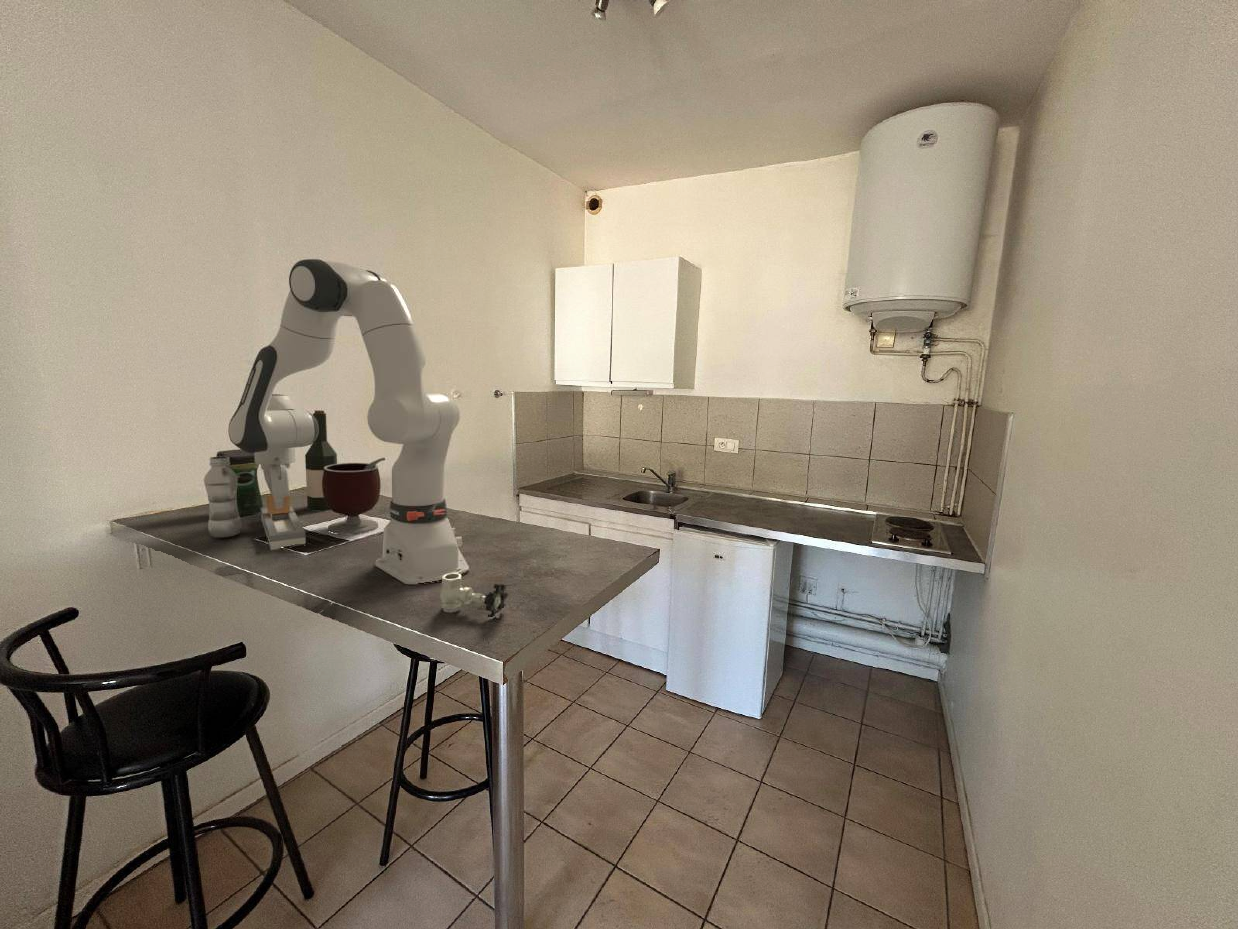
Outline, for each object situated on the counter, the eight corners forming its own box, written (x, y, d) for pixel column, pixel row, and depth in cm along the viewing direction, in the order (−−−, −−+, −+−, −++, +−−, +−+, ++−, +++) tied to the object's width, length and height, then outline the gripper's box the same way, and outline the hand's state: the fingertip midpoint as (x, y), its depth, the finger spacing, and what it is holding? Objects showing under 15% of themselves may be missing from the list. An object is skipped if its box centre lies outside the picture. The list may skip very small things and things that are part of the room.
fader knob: (290, 518, 133) (289, 494, 131) (268, 520, 130) (267, 496, 128) (289, 515, 135) (288, 492, 134) (267, 518, 132) (266, 494, 131)
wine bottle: (336, 503, 158) (332, 409, 153) (341, 509, 151) (337, 412, 146) (305, 505, 152) (300, 409, 147) (309, 512, 146) (305, 411, 141)
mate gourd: (314, 535, 127) (310, 459, 123) (337, 520, 140) (335, 451, 137) (377, 536, 129) (375, 461, 126) (394, 521, 142) (393, 453, 139)
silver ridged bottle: (249, 533, 125) (243, 456, 122) (225, 541, 119) (219, 460, 115) (225, 531, 126) (220, 454, 122) (201, 539, 119) (194, 458, 116)
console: (305, 545, 120) (305, 531, 119) (270, 550, 115) (269, 535, 115) (291, 516, 141) (290, 504, 140) (261, 520, 136) (260, 507, 136)
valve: (431, 615, 90) (490, 627, 87) (431, 581, 89) (490, 592, 86) (452, 600, 96) (507, 610, 93) (452, 568, 95) (508, 578, 92)
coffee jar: (256, 507, 148) (252, 446, 144) (266, 512, 143) (262, 450, 140) (216, 513, 140) (211, 449, 137) (226, 519, 135) (220, 452, 132)
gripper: (294, 461, 123) (297, 514, 126) (285, 449, 139) (287, 497, 141) (263, 463, 119) (267, 517, 122) (257, 450, 135) (260, 499, 137)
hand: (277, 506), depth 132 cm, fingers closed on fader knob, 2 cm apart
